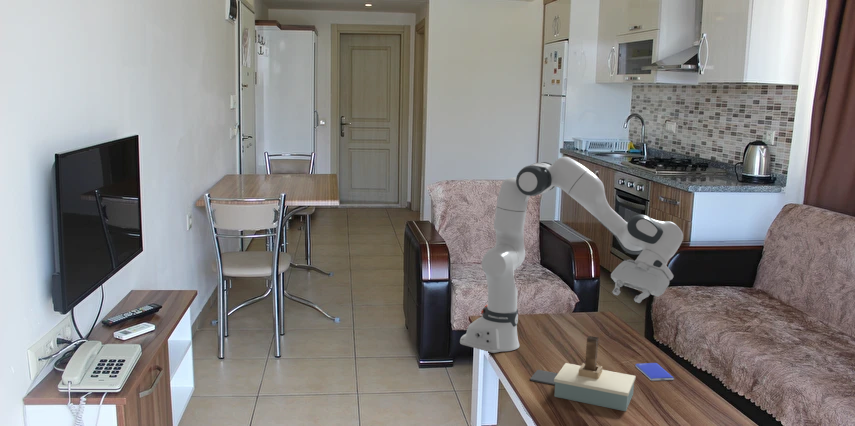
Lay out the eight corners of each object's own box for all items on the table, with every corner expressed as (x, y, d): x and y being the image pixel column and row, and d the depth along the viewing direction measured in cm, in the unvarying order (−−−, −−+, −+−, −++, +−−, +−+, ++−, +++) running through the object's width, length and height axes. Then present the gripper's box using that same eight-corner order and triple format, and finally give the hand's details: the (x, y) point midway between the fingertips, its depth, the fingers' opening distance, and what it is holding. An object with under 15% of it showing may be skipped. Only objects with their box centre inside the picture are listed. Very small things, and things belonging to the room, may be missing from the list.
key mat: (529, 380, 229) (530, 378, 229) (537, 370, 238) (537, 369, 237) (556, 385, 226) (556, 384, 226) (563, 375, 234) (563, 374, 234)
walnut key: (584, 374, 220) (586, 338, 218) (586, 371, 223) (588, 335, 221) (594, 376, 219) (596, 340, 217) (596, 373, 222) (598, 337, 219)
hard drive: (635, 363, 243) (651, 378, 231) (657, 362, 245) (674, 377, 232) (635, 367, 244) (651, 382, 232) (656, 366, 245) (673, 381, 233)
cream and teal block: (553, 396, 217) (554, 372, 216) (564, 379, 230) (565, 357, 229) (626, 411, 208) (628, 386, 207) (634, 393, 221) (636, 369, 220)
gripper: (621, 252, 234) (598, 283, 230) (669, 265, 216) (644, 300, 213) (630, 263, 236) (607, 295, 233) (678, 278, 219) (653, 311, 216)
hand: (625, 297), depth 223 cm, fingers open, 8 cm apart
